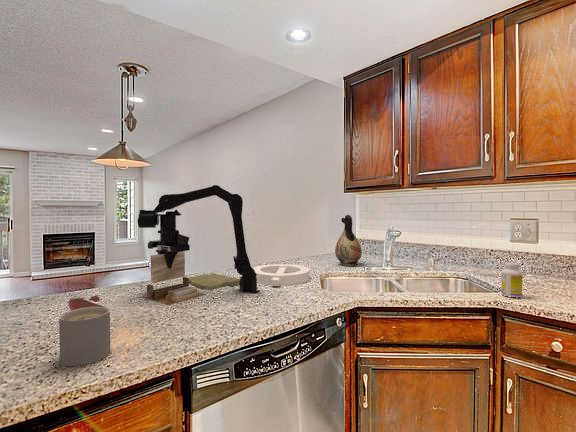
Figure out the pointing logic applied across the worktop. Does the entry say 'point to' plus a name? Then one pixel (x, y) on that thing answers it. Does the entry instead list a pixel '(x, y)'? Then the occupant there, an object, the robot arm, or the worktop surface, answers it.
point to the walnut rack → (166, 292)
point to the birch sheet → (161, 269)
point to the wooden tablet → (84, 303)
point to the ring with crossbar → (282, 274)
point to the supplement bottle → (511, 280)
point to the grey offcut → (182, 291)
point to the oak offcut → (178, 299)
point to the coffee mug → (84, 336)
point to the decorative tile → (213, 281)
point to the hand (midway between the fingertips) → (168, 268)
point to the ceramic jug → (348, 245)
